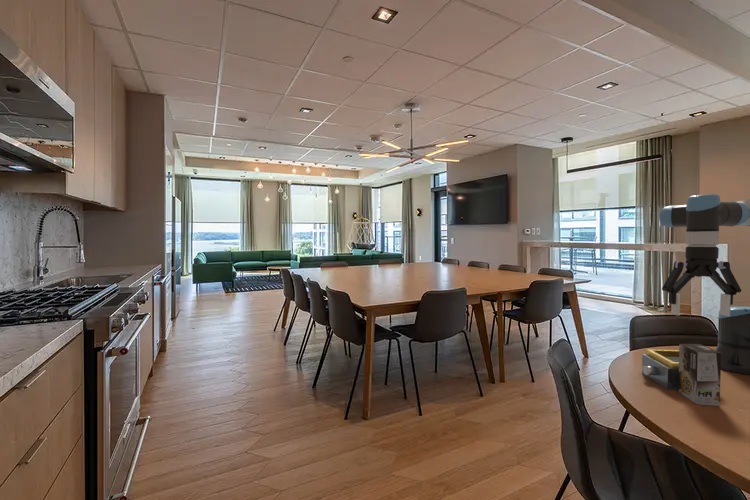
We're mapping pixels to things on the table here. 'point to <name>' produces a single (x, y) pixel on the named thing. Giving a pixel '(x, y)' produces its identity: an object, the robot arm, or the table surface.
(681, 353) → the coffee box
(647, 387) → the table surface
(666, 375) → the grey yellow box
